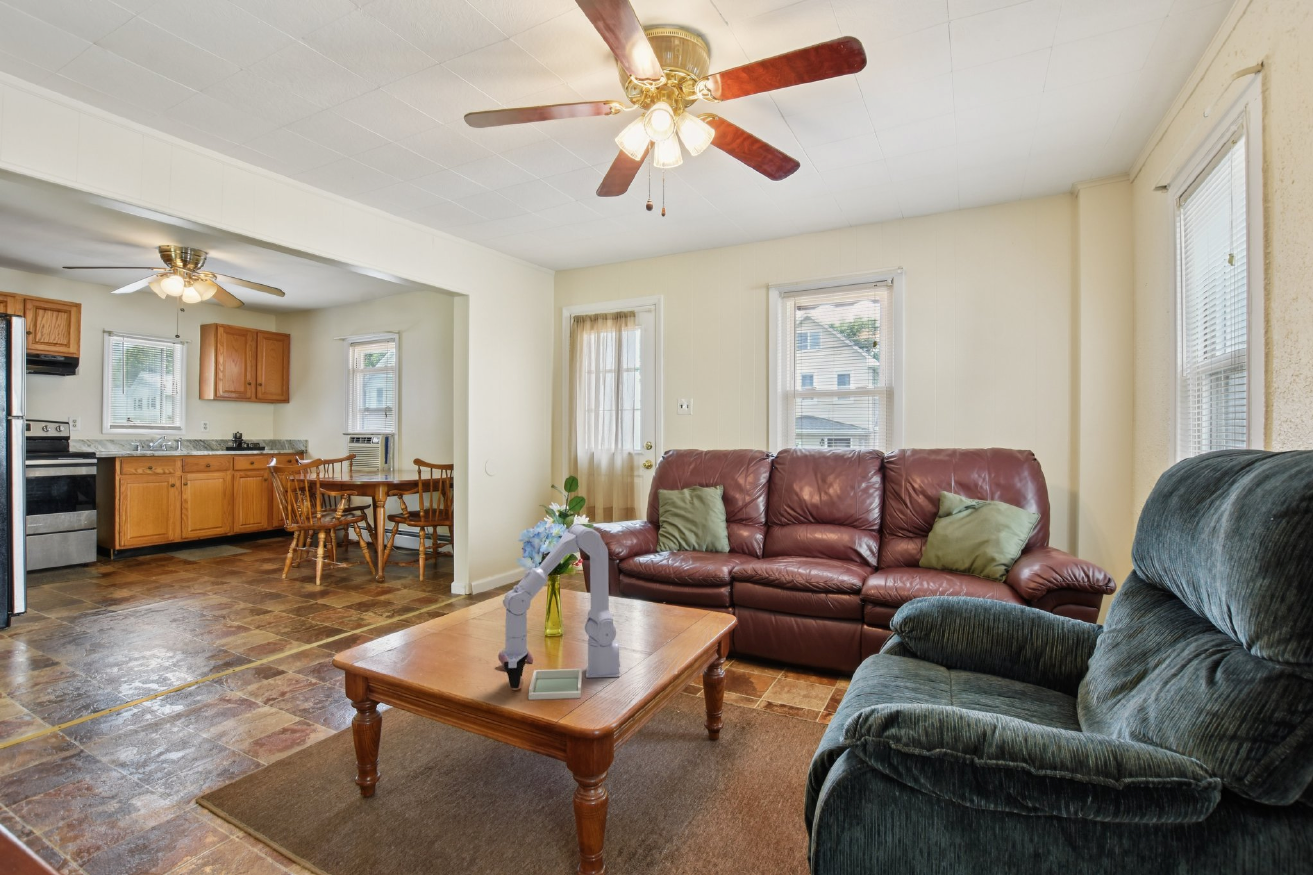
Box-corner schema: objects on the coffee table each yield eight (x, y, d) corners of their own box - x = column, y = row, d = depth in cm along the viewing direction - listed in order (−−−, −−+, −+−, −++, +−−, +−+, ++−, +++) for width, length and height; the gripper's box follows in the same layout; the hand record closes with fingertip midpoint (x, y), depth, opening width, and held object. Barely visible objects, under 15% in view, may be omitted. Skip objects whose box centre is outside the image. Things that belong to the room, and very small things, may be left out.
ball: (524, 686, 169) (524, 671, 169) (522, 692, 165) (522, 677, 165) (509, 686, 168) (509, 672, 168) (507, 692, 164) (507, 677, 164)
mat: (577, 679, 174) (577, 677, 174) (576, 696, 162) (576, 695, 162) (537, 680, 173) (537, 679, 173) (533, 697, 161) (533, 696, 161)
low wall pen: (581, 677, 175) (582, 668, 175) (580, 697, 162) (580, 688, 161) (534, 678, 174) (534, 670, 174) (528, 699, 160) (528, 690, 160)
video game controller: (526, 665, 188) (520, 642, 190) (535, 661, 186) (528, 639, 187) (500, 674, 180) (493, 651, 182) (508, 671, 178) (502, 647, 180)
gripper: (505, 626, 173) (505, 674, 173) (496, 644, 159) (496, 696, 159) (530, 626, 174) (530, 673, 174) (524, 643, 160) (524, 695, 160)
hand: (515, 684), depth 167 cm, fingers closed on ball, 4 cm apart
